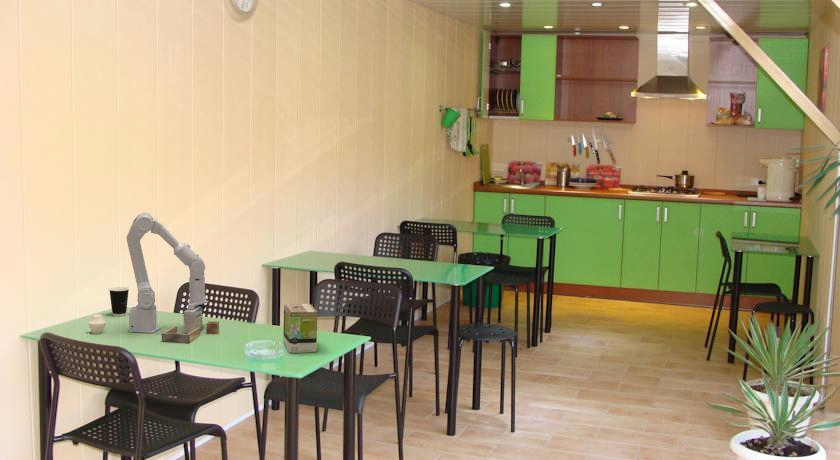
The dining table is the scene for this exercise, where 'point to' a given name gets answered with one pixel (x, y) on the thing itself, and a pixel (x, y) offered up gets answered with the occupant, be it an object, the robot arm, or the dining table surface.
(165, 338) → the dock bay
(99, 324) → the cream lidded jar
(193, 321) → the medicine box
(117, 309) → the dixie cup
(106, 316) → the dining table surface
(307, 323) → the tea box
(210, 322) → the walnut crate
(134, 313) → the robot arm
